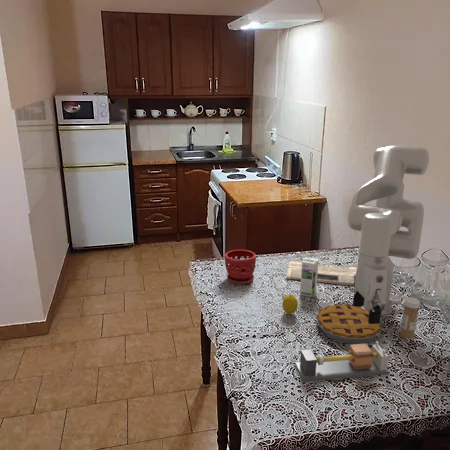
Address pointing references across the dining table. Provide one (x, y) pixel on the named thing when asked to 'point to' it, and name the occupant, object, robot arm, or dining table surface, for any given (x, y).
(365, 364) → the sleeve
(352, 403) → the dining table surface
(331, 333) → the pie
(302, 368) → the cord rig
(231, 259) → the plant pot
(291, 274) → the newspaper
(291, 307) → the lemon
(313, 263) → the syrup box
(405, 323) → the sprinkles bottle
